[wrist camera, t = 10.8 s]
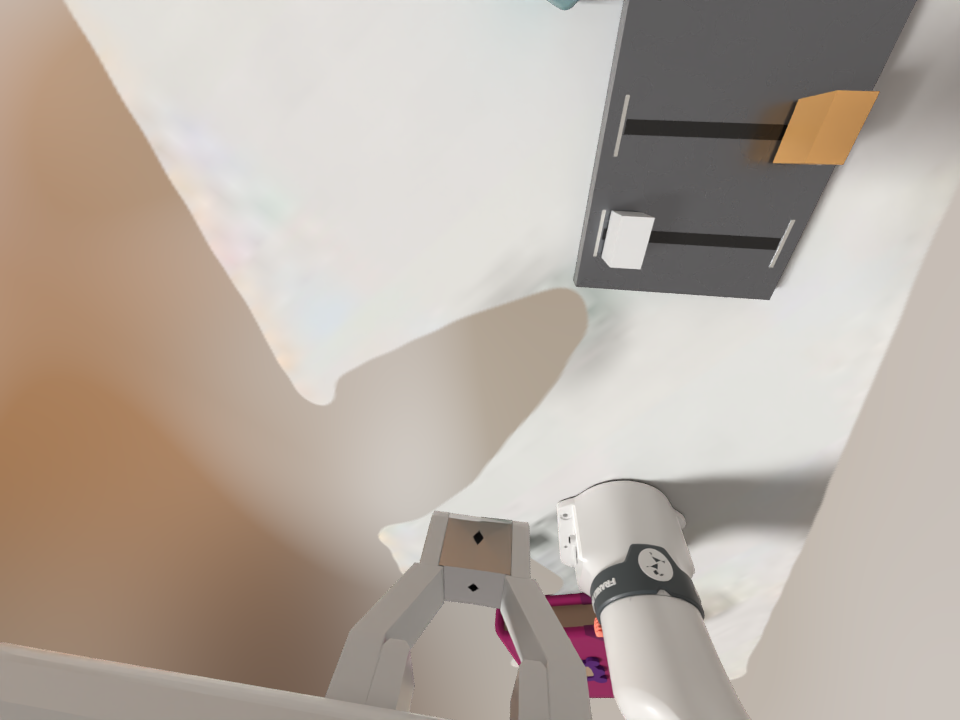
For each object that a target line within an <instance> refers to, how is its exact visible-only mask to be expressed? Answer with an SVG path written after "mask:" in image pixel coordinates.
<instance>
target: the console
mask: <svg viewBox="0 0 960 720" xmlns="http://www.w3.org/2000/svg"><path fill="white" fill-rule="evenodd" d="M916 1H917V0H624V2H623V7H622V13H621V18H620V24H619V29H618V35H617V41H616V46H615V52H614V57H613V63H612V68H611V74H610V79H609V85H608V90H607V96H606V102H605V107H604V113H603V118H602V124H601V129H600V135H599V140H598V146H597V151H596V157H595V163H594V168H593V174H592V179H591V185H590V190H589V196H588V201H587V207H586V212H585V218H584V224H583V229H582V235H581V240H580V246H579V251H578V257H577V262H576V268H575V273H574V279H573V281H574V283H575V286H576V287H589V288H604V289H618V290H632V291H647V292H661V293H676V294H690V295H705V296H719V297H734V298H748V299H763V300H770V298H771V296H772V294H773V291H774V289H775V287H776V285H777V283H778V281H779V279H780V277H781V275H782V273H783V271H784V269H785V267H786V265H787V263H788V261H789V259H790V257H791V255H792V253H793V251H794V249H795V247H796V245H797V243H798V241H799V239H800V237H801V235H802V232H803V230H804V228H805V226H806V224H807V222H808V220H809V218H810V216H811V214H812V212H813V210H814V208H815V206H816V204H817V202H818V200H819V198H820V196H821V194H822V192H823V190H824V188H825V186H826V184H827V182H828V180H829V178H830V176H831V174H832V171H833V169H834V167H835V165H808V164H783V163H773V161H774V158H775V156H776V154H777V151H778V149H779V146H780V144H781V141H782V139H783V136H784V134H785V132H786V129H787V127H788V124H789V122H790V119H791V117H792V114H793V112H794V110H795V107H796V105H797V102H798V100H799V99H802V98H806V97H810V96H815V95H819V94H824V93H828V92H832V91H837V90H845V91H872V90H873V88H874V86H875V84H876V82H877V80H878V78H879V76H880V74H881V72H882V70H883V68H884V66H885V64H886V62H887V60H888V58H889V56H890V54H891V51H892V49H893V47H894V45H895V43H896V41H897V39H898V37H899V35H900V33H901V31H902V29H903V27H904V25H905V23H906V21H907V19H908V17H909V15H910V13H911V11H912V9H913V7H914V5H915V3H916ZM611 211H630V212H642V213H645V214H647V215H649V216H652V217H654V218H655V220H654V223H653V227H652V230H651V234H650V238H649V241H648V245H647V248H646V252H645V256H644V259H643V263H642V266H641V269H626V268H611V267H609V266H608V265H607V263H606V262H605V261H604V260H603V259H602V258H601V257H602V252H603V248H604V243H605V238H606V234H607V229H608V225H609V220H610V215H611Z"/></svg>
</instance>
